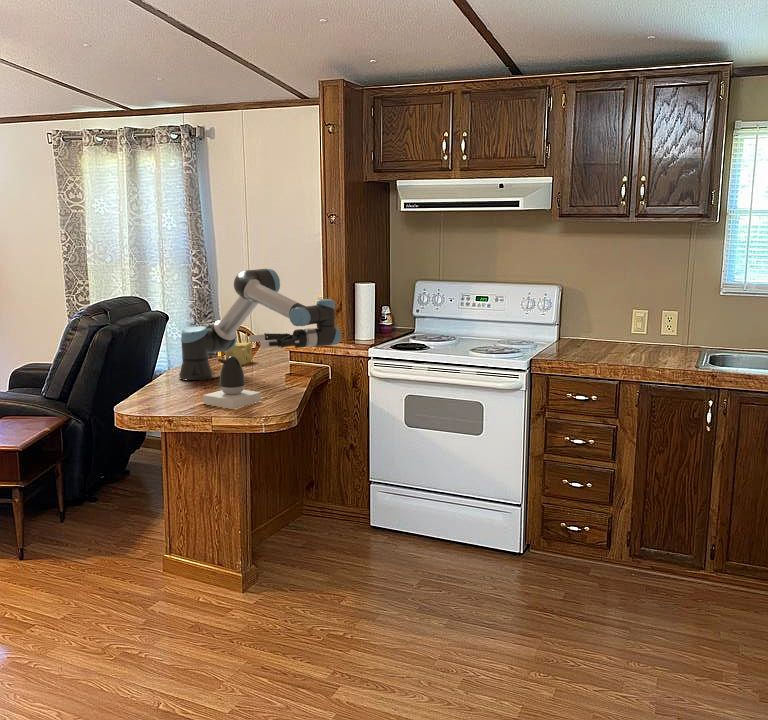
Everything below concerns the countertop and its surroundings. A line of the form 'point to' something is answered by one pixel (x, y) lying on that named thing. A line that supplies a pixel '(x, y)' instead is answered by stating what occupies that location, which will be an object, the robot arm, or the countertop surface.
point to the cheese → (241, 352)
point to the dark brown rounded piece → (231, 376)
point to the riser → (231, 399)
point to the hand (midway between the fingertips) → (254, 341)
